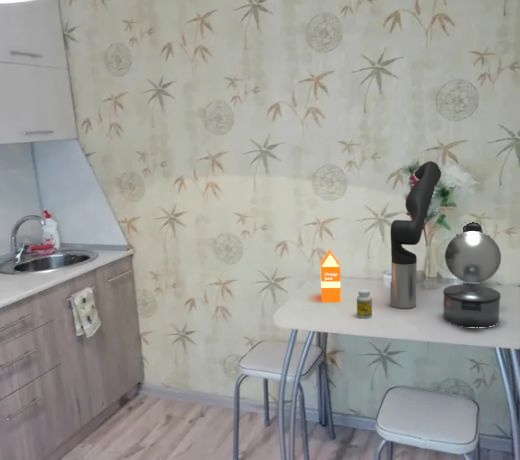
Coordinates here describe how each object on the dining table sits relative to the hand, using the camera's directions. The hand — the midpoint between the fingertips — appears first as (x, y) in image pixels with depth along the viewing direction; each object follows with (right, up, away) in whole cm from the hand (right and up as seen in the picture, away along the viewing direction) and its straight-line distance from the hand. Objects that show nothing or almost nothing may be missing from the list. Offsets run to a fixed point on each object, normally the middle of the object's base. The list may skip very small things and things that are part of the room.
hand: (472, 242), depth 189 cm
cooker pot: (-7, -27, -13) cm, 31 cm away
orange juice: (-52, -24, +15) cm, 59 cm away
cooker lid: (-2, -4, -5) cm, 7 cm away
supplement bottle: (-42, -27, -6) cm, 51 cm away
